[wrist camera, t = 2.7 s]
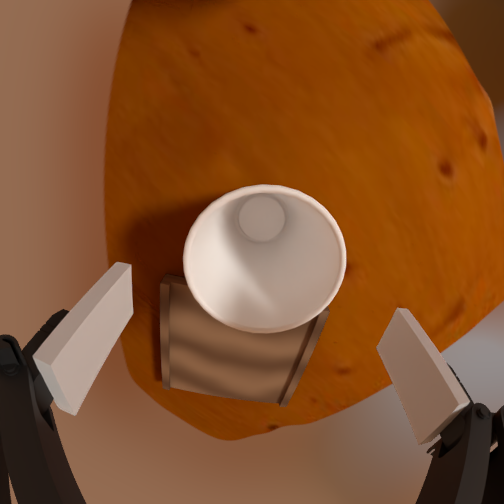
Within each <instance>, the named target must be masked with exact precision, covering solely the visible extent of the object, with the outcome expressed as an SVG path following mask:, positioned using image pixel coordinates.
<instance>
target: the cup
mask: <svg viewBox="0 0 504 504" xmlns="http://www.w3.org/2000/svg"><path fill="white" fill-rule="evenodd" d="M183 267H184V274H185V278H186V281H187V284H188V287H189V289H190V291H191V293H192V294H193V296H194V298H195V299H196V301H197V302H198V303H199V304H200V306H201V307H202V308H203V309H204V310H205V311H206V312H207V313H209V314H210V315H211V316H212V317H213V318H215V319H216V320H218V321H220V322H222V323H223V324H225V325H227V326H230V327H232V328H235V329H238V330H241V331H246V332H251V333H275V332H282V331H286V330H289V329H293V328H296V327H298V326H300V325H302V324H304V323H306V322H308V321H310V320H311V319H312V318H314V317H315V316H317V315H318V314H320V313H321V312H322V311H323V310H324V309H325V308H326V307H327V306H328V305H329V304H330V302H331V301H332V299H333V298H334V296H335V295H336V293H337V292H338V290H339V287H340V285H341V283H342V280H343V277H344V272H345V267H346V248H345V244H344V239H343V235H342V233H341V231H340V229H339V227H338V225H337V223H336V221H335V220H334V218H333V217H332V216H331V215H330V213H329V212H328V211H327V210H326V208H324V207H323V206H322V205H321V204H320V203H318V202H317V201H316V200H315V199H313V198H312V197H310V196H308V195H306V194H304V193H302V192H300V191H298V190H295V189H291V188H288V187H284V186H280V185H264V184H261V185H254V186H247V187H243V188H240V189H237V190H234V191H231V192H229V193H226V194H225V195H223V196H222V197H220V198H218V199H217V200H215V201H213V202H212V203H211V204H210V205H209V206H208V207H207V208H206V209H205V210H204V211H203V212H202V213H200V215H199V216H198V218H197V219H196V221H195V222H194V224H193V225H192V227H191V228H190V231H189V234H188V236H187V239H186V241H185V246H184V253H183Z"/></svg>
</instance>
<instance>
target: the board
mask: <svg viewBox="0 0 504 504" xmlns="http://www.w3.org/2000/svg"><path fill="white" fill-rule="evenodd" d="M329 312H330V311H329V308H328V306H327V307H326V308H325V309H324V310H323V311H322V312H321V313H320V314H318V315H317V316H315V317H314V318H312V319H311V320H310V321H308V322H306V323H304V324H302V325H300V326H298V327H296V328H293V329H289V330H286V331H282V332H275V333H251V332H246V331H241V330H238V329H235V328H232V327H230V326H227V325H225V324H223V323H222V322H220V321H218V320H216V319H215V318H213V317H212V316H211V315H210V314H209V313H207V312H206V311H205V310H204V309H203V308H202V307H201V306H200V304H199V303H198V302H197V301H196V299H195V298H194V296H193V294H192V293H191V291H190V289H189V287H188V284H187V281H186V278H185V277H179V276H174V275H169V274H166V275H165V276H164V278H163V279H162V281H161V283H160V345H161V367H162V383H163V389H168V390H170V387H173V388H177V389H182V390H187V391H192V392H197V393H202V394H208V395H214V396H220V397H226V398H233V399H241V400H249V401H258V402H269V403H279V405H280V406H281V407H286V406H287V404H288V402H289V400H290V398H291V397H292V395H293V393H294V391H295V389H296V387H297V384H298V382H299V380H300V378H301V376H302V374H303V372H304V370H305V368H306V366H307V363H308V361H309V359H310V357H311V355H312V352H313V350H314V348H315V346H316V343H317V341H318V339H319V336H320V334H321V332H322V329H323V327H324V325H325V322H326V320H327V317H328V315H329Z"/></svg>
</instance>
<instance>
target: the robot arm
mask: <svg viewBox="0 0 504 504" xmlns="http://www.w3.org/2000/svg"><path fill="white" fill-rule="evenodd" d="M132 314H133V300H132V276H131V265H130V264H126V263H121V262H116V263H115V264H114V265H113V266H112V267H111V268H110V269H109V270H108V271H107V272H106V273H105V274H104V275H103V276H102V277H101V278H100V279H99V280H98V282H96V284H95V285H94V286H93V287H92V288H91V289H90V290H89V291H88V292H87V293H86V294H85V295H84V296H83V297H82V298H81V300H80V301H79V302H78V303H77V304H76V305H75V306H74V307H73V308H72V309H71V311H67V310H64V309H63V310H61V311H59V312H57V313H55V314H54V315H52V316H51V318H50V319H49V320H48V321H47V322H46V324H44V325H43V326H42V328H41V329H40V331H38V332H37V333H36V334H35V335H34V337H33V338H32V339H31V340H30V341H29V342H28V344H27V345H26V346H25V347H24V348H23V350H22V351H21V348H20V346H19V344H18V341H17V340H16V339H15V338H14V337H12V336H10V335H0V504H11V496H10V488H9V477H10V480H11V484H12V487H13V490H14V493H15V496H16V499H17V502H18V504H86V502H85V500H84V498H83V496H82V494H81V492H80V490H79V487H78V485H77V483H76V481H75V478H74V476H73V474H72V471H71V468H70V466H69V463H68V461H67V458H66V455H65V453H64V450H63V447H62V444H61V441H60V438H59V434H58V431H57V427H56V424H55V420H54V416H53V412H52V409H51V407H50V404H51V403H52V401H53V399H54V401H55V403H56V404H57V406H58V408H59V409H61V410H64V411H66V412H68V413H70V414H72V415H75V416H76V414H77V412H78V410H79V408H80V406H81V404H82V402H83V400H84V398H85V396H86V394H87V392H88V391H89V389H90V387H91V385H92V383H93V381H94V379H95V377H96V376H97V374H98V372H99V370H100V368H101V367H102V365H103V363H104V361H105V359H106V358H107V356H108V354H109V353H110V351H111V349H112V347H113V346H114V344H115V342H116V340H117V339H118V337H119V336H120V334H121V332H122V331H123V329H124V327H125V326H126V324H127V322H128V321H129V319H130V318H131V316H132ZM376 349H377V351H378V353H379V355H380V357H381V359H382V361H383V363H384V365H385V367H386V370H387V372H388V374H389V376H390V378H391V380H392V383H393V385H394V387H395V389H396V391H397V394H398V396H399V398H400V400H401V403H402V405H403V407H404V410H405V412H406V415H407V417H408V419H409V422H410V424H411V426H412V429H413V432H414V434H415V437H416V439H417V442H418V444H419V445H420V444H424V443H428V442H431V441H432V440H433V439H434V438H435V437H436V436H437V435H439V434H440V436H441V439H440V440H438V441H437V442H436V443H435V444H434V445H433V446H432V447H430V448H429V449H428V451H427V453H429V452H430V451H431V450H433V449H435V451H434V452H432V453H431V455H432V456H433V458H432V461H431V464H430V467H429V470H428V473H427V476H426V479H425V481H424V484H423V487H422V489H421V492H420V494H419V497H418V499H417V502H416V504H504V406H502V407H501V408H500V409H499V410H498V411H497V413H491V412H490V410H489V409H488V408H487V407H486V406H485V405H484V404H481V403H476V404H474V403H473V401H472V400H471V398H470V396H469V395H468V393H467V391H466V390H465V388H464V386H463V385H462V383H460V380H459V378H458V377H457V376H456V374H455V372H454V370H453V369H452V368H451V367H450V366H449V365H448V364H447V363H446V362H445V360H444V359H443V357H442V356H441V354H440V353H439V351H438V350H437V348H436V347H435V346H434V344H433V343H432V341H431V340H430V338H429V337H428V336H427V334H426V333H425V331H424V330H423V329H422V327H421V326H420V325H419V323H418V322H417V320H416V319H415V318H414V316H413V315H412V314H411V312H410V311H409V310H408V309H403V308H397V309H396V311H395V313H394V315H393V317H392V319H391V321H390V323H389V325H388V327H387V329H386V331H385V333H384V335H383V337H382V338H381V340H380V342H379V344H378V346H377V348H376ZM496 442H498V446H497V447H496V448H495V449H494V450H493V451H492V452H490V447H491V446H492V445H493V444H495V443H496ZM8 473H9V474H8Z"/></svg>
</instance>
